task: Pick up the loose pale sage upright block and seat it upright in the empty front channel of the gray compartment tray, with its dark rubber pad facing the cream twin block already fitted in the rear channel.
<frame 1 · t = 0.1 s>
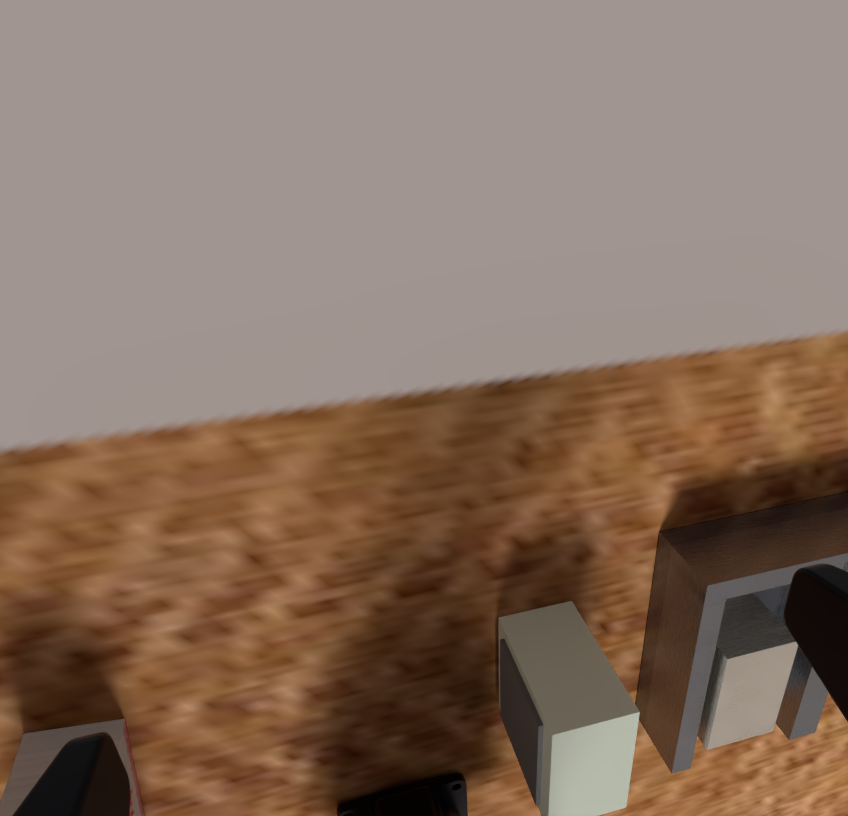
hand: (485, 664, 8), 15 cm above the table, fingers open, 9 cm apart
gray compartment tray: (776, 598, 33), on the table
pale sage upright block: (533, 655, 31), on the table
white boxy piece: (90, 775, 28), on the table
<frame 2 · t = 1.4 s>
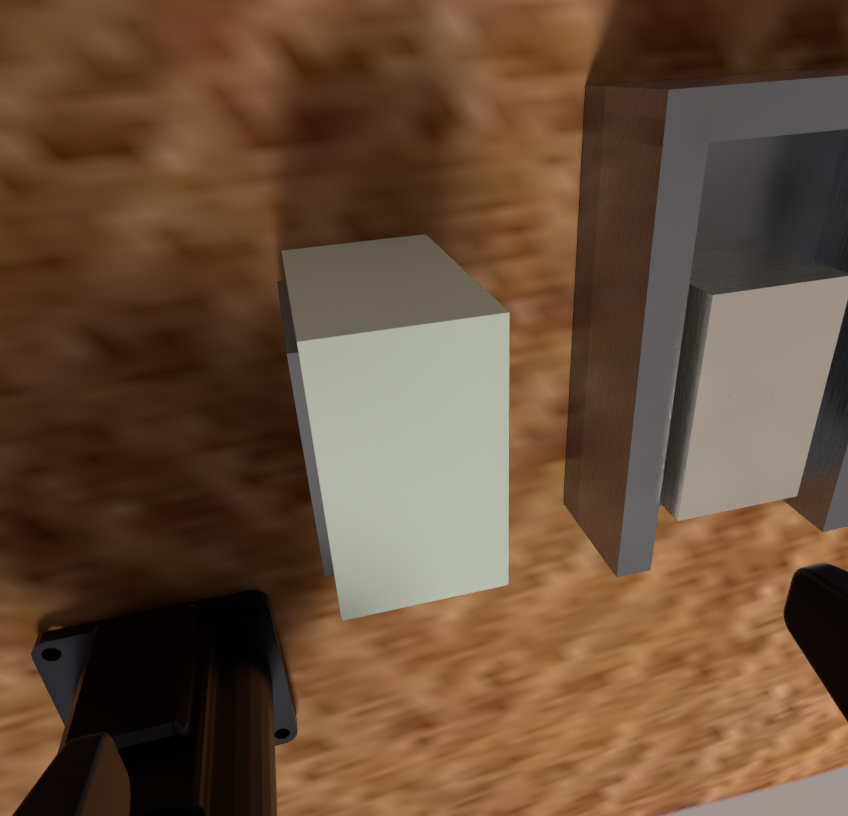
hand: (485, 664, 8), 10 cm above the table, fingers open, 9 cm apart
gray compartment tray: (801, 294, 19), on the table
pale sage upright block: (367, 356, 17), on the table
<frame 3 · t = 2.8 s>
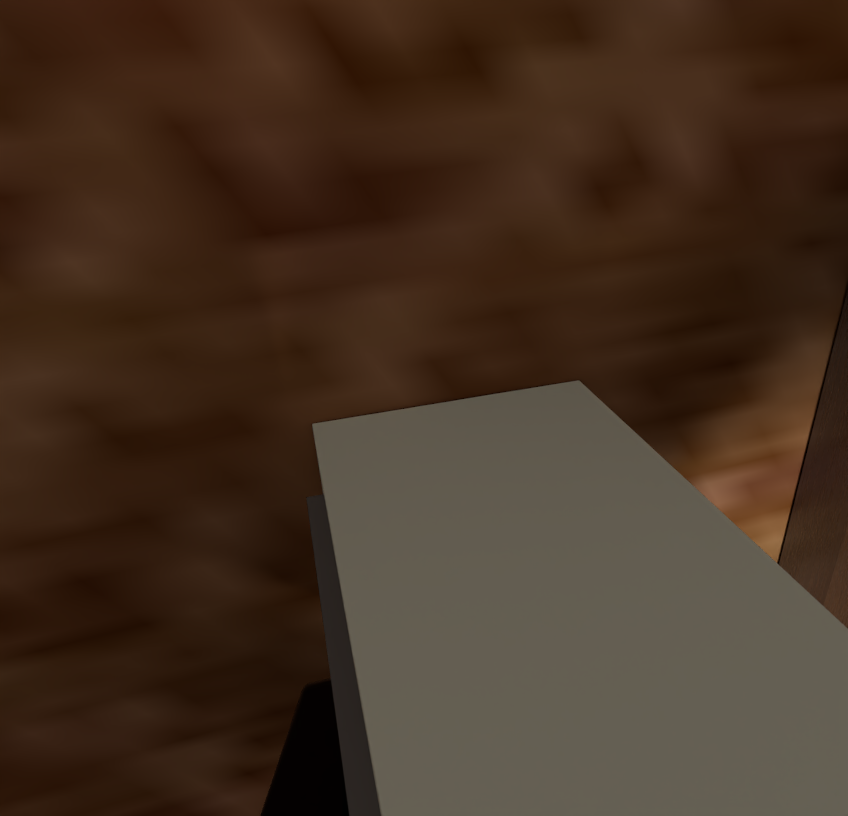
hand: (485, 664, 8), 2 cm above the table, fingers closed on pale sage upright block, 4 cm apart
pale sage upright block: (458, 581, 10), on the table, touching gripper
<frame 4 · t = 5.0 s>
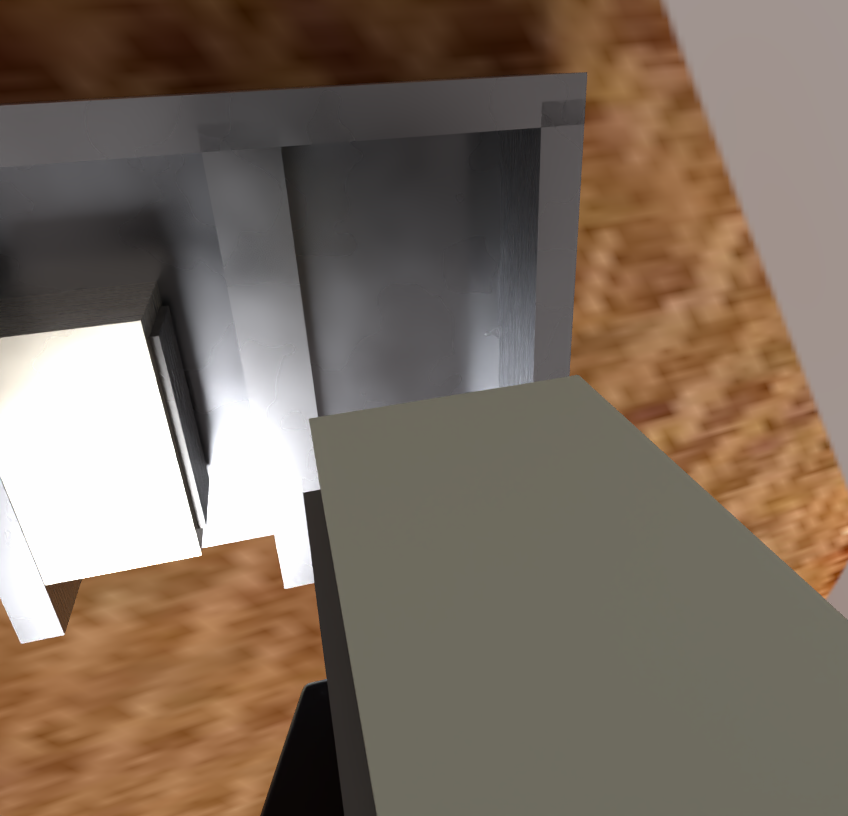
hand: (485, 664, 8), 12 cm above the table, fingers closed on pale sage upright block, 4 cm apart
gray compartment tray: (272, 332, 18), on the table
pale sage upright block: (457, 578, 10), point 10 cm above the table, touching gripper
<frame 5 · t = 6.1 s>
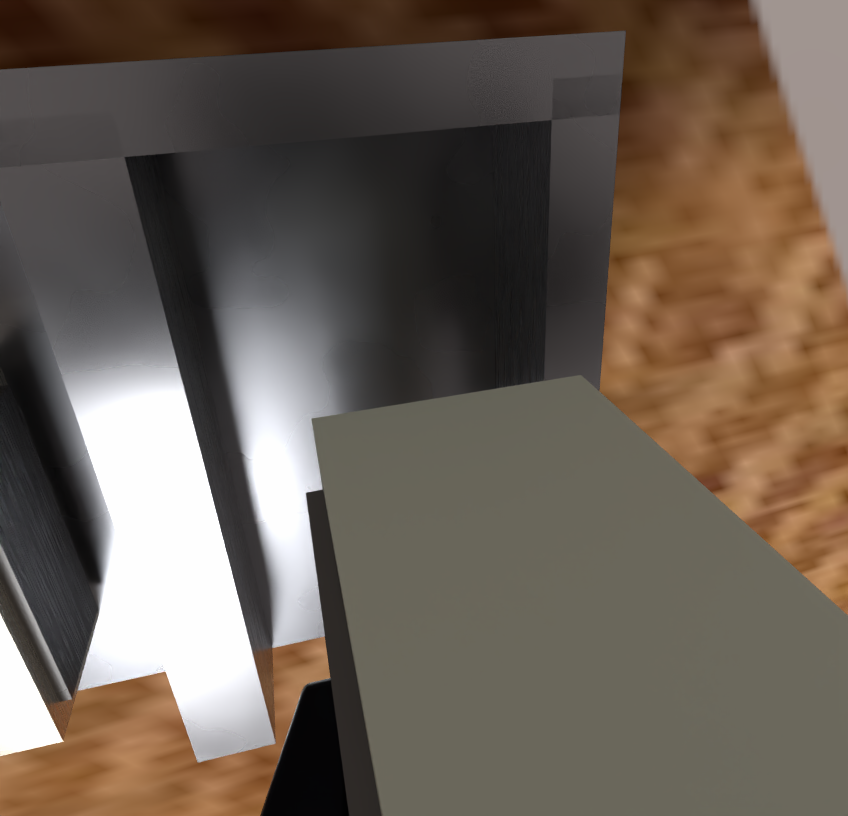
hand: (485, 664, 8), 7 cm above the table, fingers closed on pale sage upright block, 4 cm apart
gray compartment tray: (182, 405, 13), on the table
pale sage upright block: (459, 578, 10), point 5 cm above the table, touching gripper
when the fingers open (4 cm above the table, at t = 6.9 s): pale sage upright block drops 1 cm, resting on gray compartment tray.
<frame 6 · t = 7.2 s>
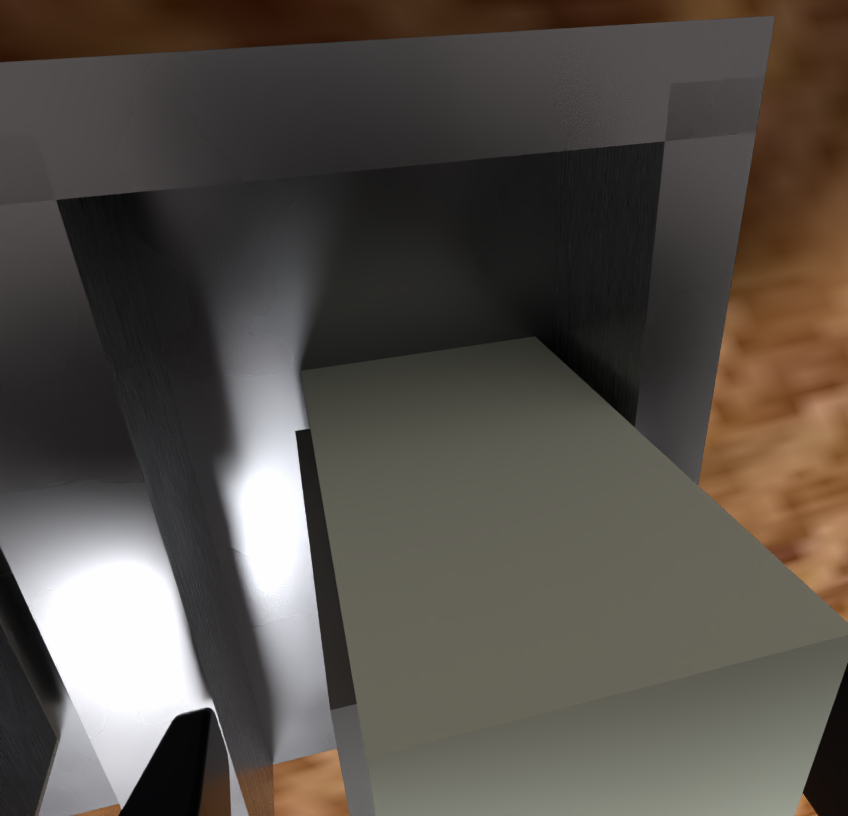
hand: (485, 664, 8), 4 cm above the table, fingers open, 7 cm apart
gray compartment tray: (161, 487, 11), on the table
pale sage upright block: (432, 519, 11), point 1 cm above the table, touching gray compartment tray
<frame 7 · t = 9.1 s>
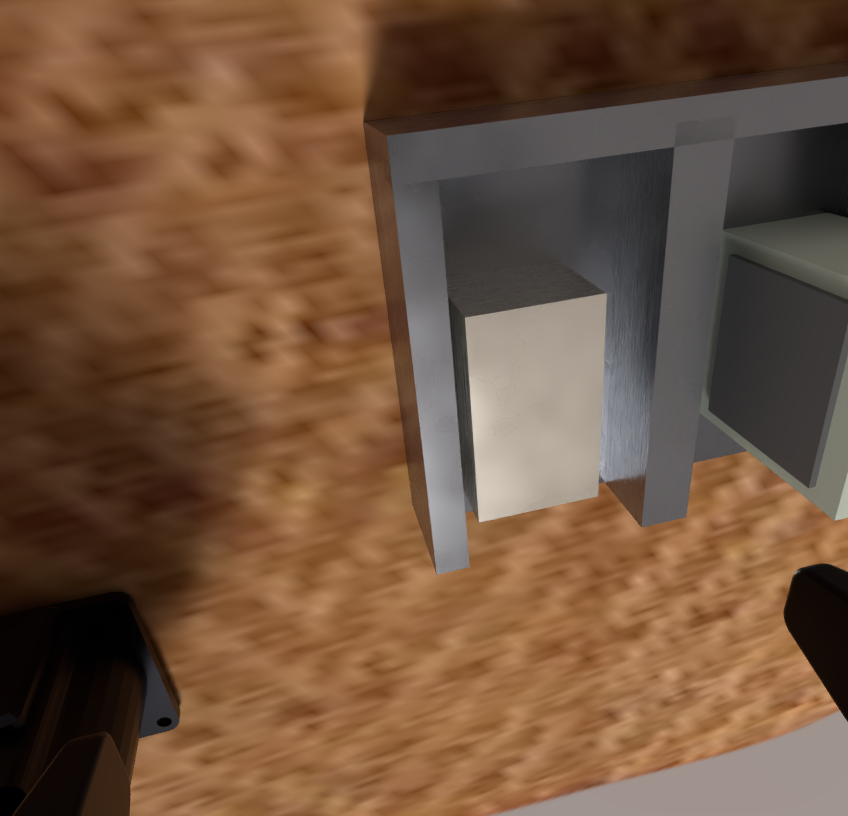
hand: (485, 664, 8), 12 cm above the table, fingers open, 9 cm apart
gray compartment tray: (620, 302, 20), on the table
pale sage upright block: (758, 317, 20), point 1 cm above the table, touching gray compartment tray
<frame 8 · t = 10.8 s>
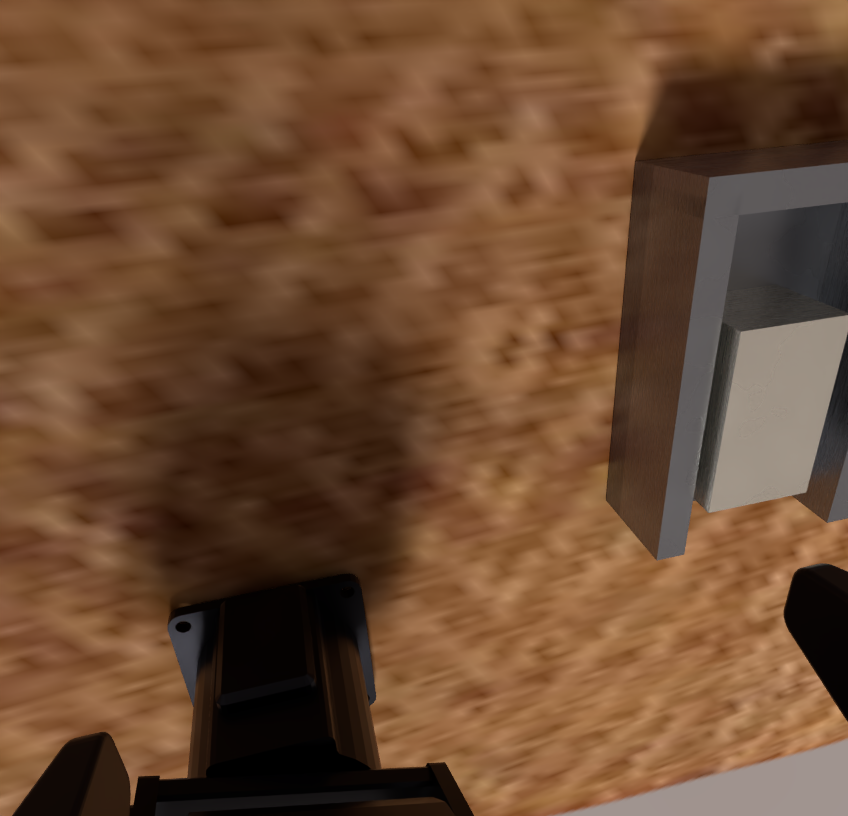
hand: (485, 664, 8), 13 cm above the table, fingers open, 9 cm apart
gray compartment tray: (807, 323, 23), on the table
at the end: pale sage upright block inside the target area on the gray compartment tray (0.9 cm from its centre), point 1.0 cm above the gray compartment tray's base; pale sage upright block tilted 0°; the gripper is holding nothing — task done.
